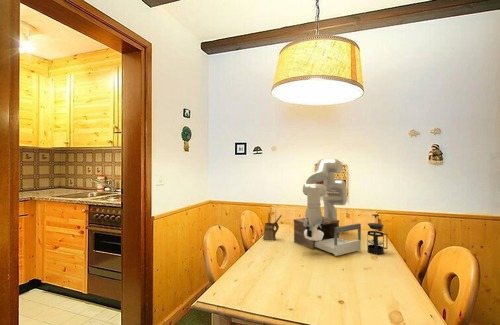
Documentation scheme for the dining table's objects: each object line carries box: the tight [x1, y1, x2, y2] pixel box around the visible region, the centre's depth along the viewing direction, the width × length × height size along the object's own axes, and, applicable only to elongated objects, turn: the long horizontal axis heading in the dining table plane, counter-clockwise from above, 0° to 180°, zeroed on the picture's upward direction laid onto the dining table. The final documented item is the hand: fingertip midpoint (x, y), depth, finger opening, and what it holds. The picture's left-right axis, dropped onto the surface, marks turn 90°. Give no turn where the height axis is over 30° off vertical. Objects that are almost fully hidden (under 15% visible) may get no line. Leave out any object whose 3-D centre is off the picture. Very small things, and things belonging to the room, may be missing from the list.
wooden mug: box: [262, 214, 282, 241], centre depth 189 cm, size 9×14×18 cm, turn 72°
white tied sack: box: [304, 224, 324, 241], centre depth 160 cm, size 12×8×11 cm
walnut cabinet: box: [293, 216, 340, 250], centre depth 181 cm, size 25×18×16 cm
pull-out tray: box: [315, 222, 362, 257], centre depth 165 cm, size 22×18×16 cm
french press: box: [366, 213, 388, 256], centre depth 161 cm, size 12×9×23 cm
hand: (313, 235), depth 160 cm, fingers closed on white tied sack, 6 cm apart
